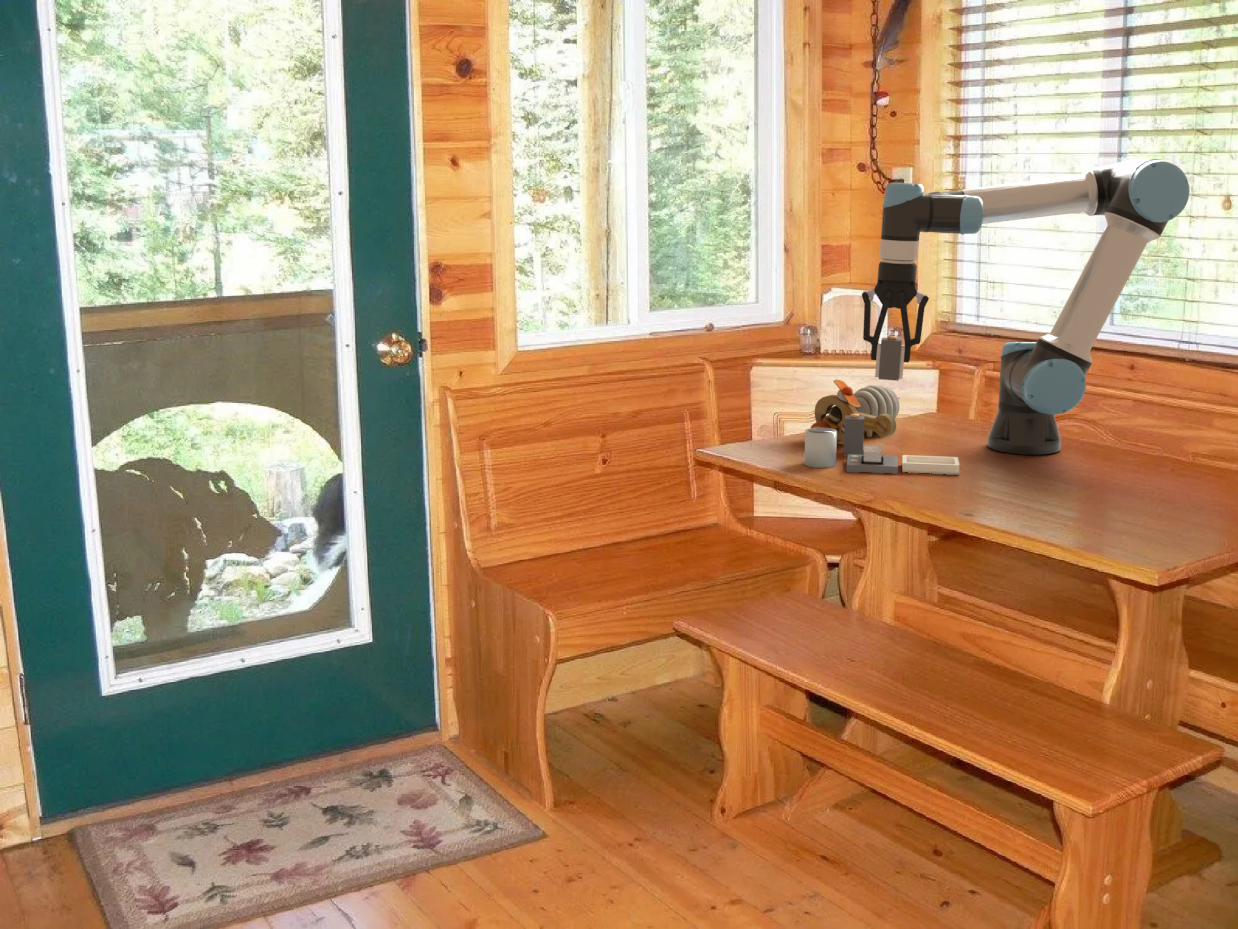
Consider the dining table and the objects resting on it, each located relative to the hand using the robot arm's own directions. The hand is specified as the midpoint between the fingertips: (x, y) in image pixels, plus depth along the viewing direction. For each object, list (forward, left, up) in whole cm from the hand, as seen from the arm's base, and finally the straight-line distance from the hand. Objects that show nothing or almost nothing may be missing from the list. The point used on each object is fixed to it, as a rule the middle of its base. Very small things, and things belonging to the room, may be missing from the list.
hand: (888, 376), depth 288 cm
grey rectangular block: (+3, +6, -16) cm, 17 cm away
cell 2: (0, 0, 0) cm, 0 cm away
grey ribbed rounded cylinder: (+3, -29, -18) cm, 34 cm away
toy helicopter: (+8, -15, -18) cm, 25 cm away
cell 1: (+7, -6, -18) cm, 20 cm away
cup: (+13, +5, -18) cm, 23 cm away
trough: (-9, +6, -18) cm, 21 cm away
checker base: (+3, +6, -18) cm, 19 cm away
